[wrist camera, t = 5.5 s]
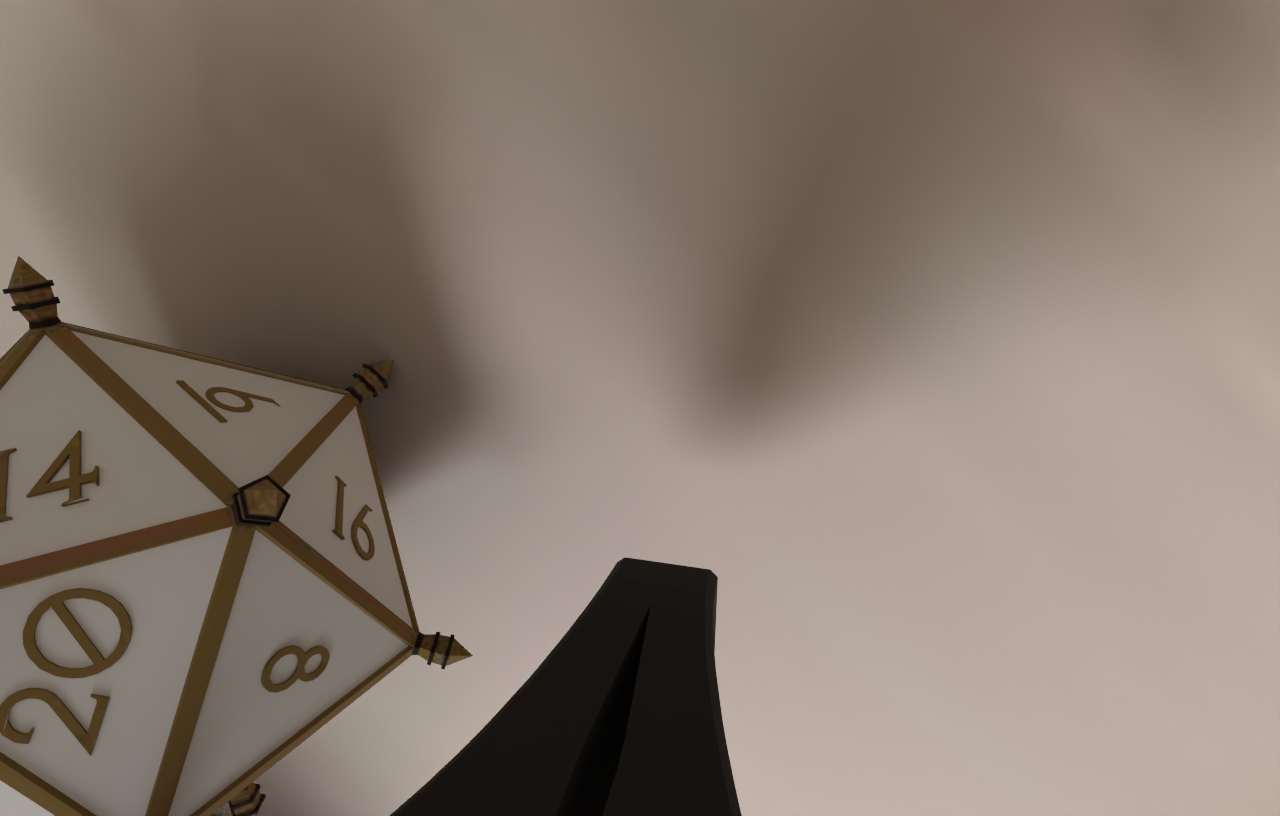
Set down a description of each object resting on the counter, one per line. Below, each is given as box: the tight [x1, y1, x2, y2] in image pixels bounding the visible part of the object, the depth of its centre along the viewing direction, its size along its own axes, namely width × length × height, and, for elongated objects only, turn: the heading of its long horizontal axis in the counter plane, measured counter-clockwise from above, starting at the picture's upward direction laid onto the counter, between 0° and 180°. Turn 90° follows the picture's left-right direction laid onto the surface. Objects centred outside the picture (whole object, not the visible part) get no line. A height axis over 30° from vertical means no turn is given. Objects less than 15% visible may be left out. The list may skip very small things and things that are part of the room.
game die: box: [0, 256, 472, 816], centre depth 12 cm, size 9×8×10 cm
